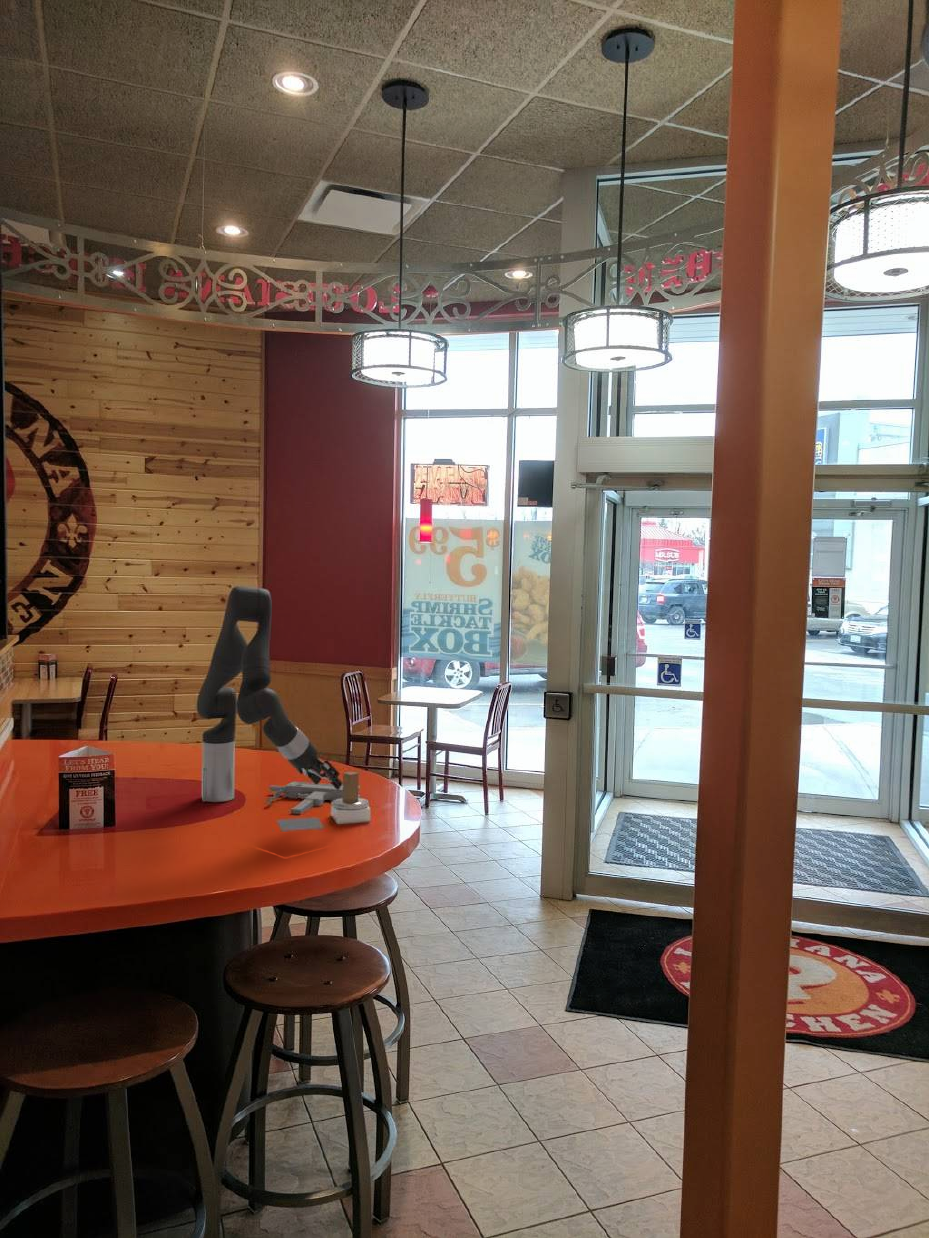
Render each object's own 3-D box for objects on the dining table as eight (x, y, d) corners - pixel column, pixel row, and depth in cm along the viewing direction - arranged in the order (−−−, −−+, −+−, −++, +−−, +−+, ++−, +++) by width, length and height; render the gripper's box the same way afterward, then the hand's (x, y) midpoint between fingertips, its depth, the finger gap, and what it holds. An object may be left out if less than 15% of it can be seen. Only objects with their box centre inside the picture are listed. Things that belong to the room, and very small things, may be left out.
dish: (337, 825, 240) (337, 810, 240) (331, 816, 249) (331, 802, 249) (370, 823, 243) (370, 808, 243) (362, 814, 252) (363, 800, 252)
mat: (282, 832, 233) (282, 831, 233) (276, 821, 243) (276, 819, 243) (324, 829, 236) (324, 828, 236) (317, 818, 247) (317, 817, 247)
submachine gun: (332, 807, 247) (362, 782, 271) (238, 800, 253) (276, 776, 278) (332, 823, 248) (362, 797, 272) (239, 815, 254) (276, 790, 278)
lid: (348, 812, 239) (348, 778, 238) (324, 805, 245) (324, 772, 245) (376, 805, 246) (376, 773, 246) (352, 799, 253) (352, 767, 253)
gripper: (321, 738, 228) (354, 776, 237) (286, 732, 237) (319, 768, 246) (305, 762, 224) (339, 800, 233) (269, 754, 233) (304, 791, 242)
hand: (329, 784), depth 240 cm, fingers open, 8 cm apart
